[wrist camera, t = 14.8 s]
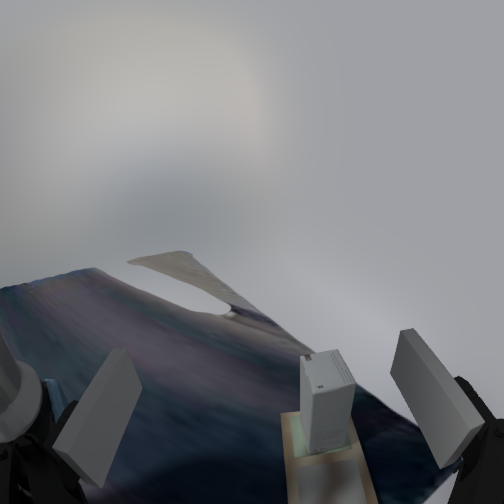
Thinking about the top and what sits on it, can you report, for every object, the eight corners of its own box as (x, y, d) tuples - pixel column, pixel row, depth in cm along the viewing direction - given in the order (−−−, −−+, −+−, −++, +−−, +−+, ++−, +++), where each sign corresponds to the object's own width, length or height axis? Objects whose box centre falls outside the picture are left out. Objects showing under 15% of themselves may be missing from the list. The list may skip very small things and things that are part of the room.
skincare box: (343, 447, 34) (361, 384, 29) (306, 455, 33) (313, 394, 29) (330, 411, 42) (340, 346, 37) (296, 417, 41) (299, 353, 37)
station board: (289, 525, 22) (290, 524, 22) (280, 416, 43) (280, 412, 43) (377, 509, 22) (379, 506, 22) (346, 408, 43) (347, 404, 43)
